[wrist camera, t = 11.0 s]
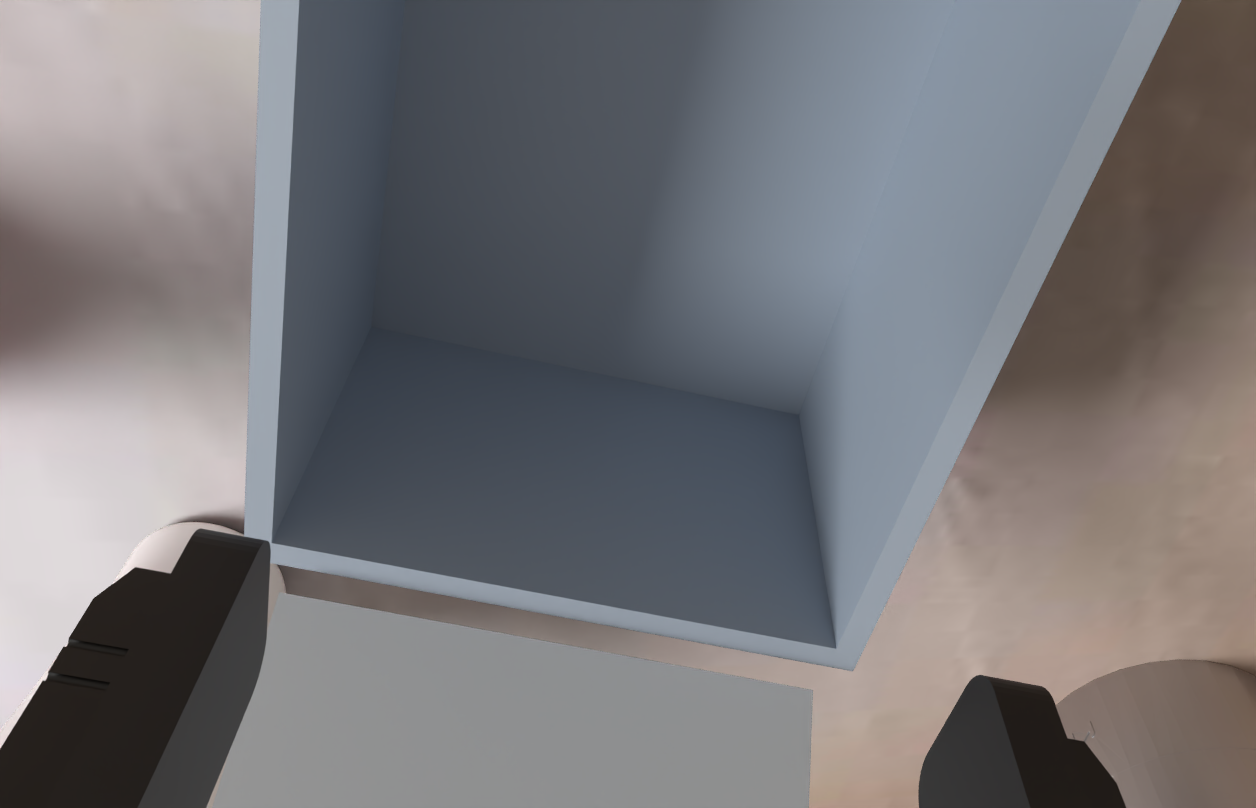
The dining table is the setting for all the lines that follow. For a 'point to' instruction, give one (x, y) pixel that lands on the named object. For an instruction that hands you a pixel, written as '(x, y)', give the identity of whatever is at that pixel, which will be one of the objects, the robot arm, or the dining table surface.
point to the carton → (654, 289)
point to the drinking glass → (162, 556)
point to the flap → (500, 723)
